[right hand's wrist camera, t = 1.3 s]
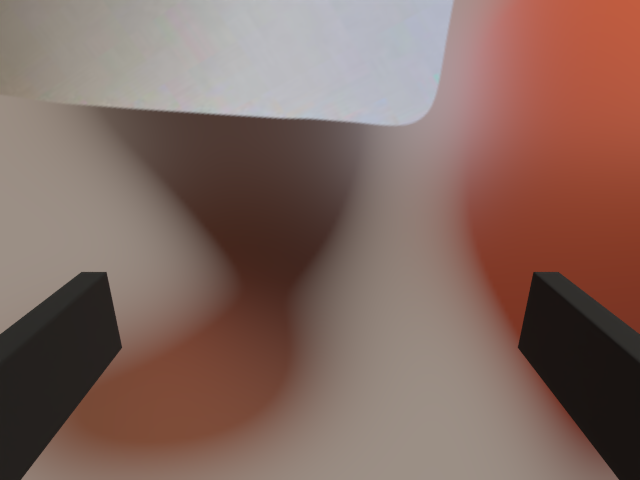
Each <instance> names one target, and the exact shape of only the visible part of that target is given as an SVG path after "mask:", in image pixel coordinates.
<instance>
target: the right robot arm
mask: <svg viewBox="0 0 640 480" xmlns="http://www.w3.org/2000/svg"><path fill="white" fill-rule="evenodd" d="M121 348H122V345H121V340H120V335H119V331H118V326H117V321H116V316H115V311H114V306H113V301H112V297H111V292H110V287H109V282H108V277H107V273H106V272H81V273H80V274H78V275H77V276H76V277H74V278H73V279H72V280H71V281H69V282H68V283H67V284H65V285H64V286H63V287H61V288H60V289H59V290H58V291H56V292H55V293H54V294H52V295H51V296H50V297H48V298H47V299H46V300H45V301H43V302H42V303H41V304H39V305H38V306H37V307H35V308H34V309H33V310H31V311H30V312H29V313H28V314H26V315H25V316H24V317H22V318H21V319H20V320H18V321H17V322H16V323H15V324H13V325H12V326H11V327H9V328H8V329H7V330H5V331H4V332H3V333H1V334H0V480H21V479H22V477H23V476H24V475H25V474H26V472H27V471H28V470H29V468H30V467H31V466H32V464H33V463H34V462H35V461H36V459H37V458H38V457H39V455H40V454H41V453H42V451H43V450H44V449H45V447H46V446H47V445H48V444H49V442H50V441H51V440H52V438H53V437H54V436H55V434H56V433H57V432H58V431H59V429H60V428H61V427H62V425H63V424H64V423H65V421H66V420H67V419H68V417H69V416H70V415H71V413H72V412H73V411H74V410H75V408H76V407H77V406H78V404H79V403H80V402H81V400H82V399H83V398H84V397H85V395H86V394H87V393H88V391H89V390H90V389H91V387H92V386H93V385H94V384H95V382H96V381H97V380H98V378H99V377H100V376H101V374H102V373H103V372H104V370H105V369H106V368H107V366H108V365H109V364H110V363H111V361H112V360H113V359H114V357H115V356H116V355H117V354H118V352H119V351H120V350H121ZM518 348H519V350H520V351H521V352H522V354H523V355H524V356H525V357H526V359H527V360H528V361H529V363H530V364H531V365H532V367H533V368H534V369H535V370H536V372H537V373H538V374H539V376H540V377H541V378H542V380H543V381H544V382H545V383H546V385H547V386H548V387H549V389H550V390H551V391H552V393H553V394H554V395H555V397H556V398H557V399H558V400H559V402H560V403H561V404H562V406H563V407H564V408H565V410H566V411H567V412H568V414H569V415H570V416H571V417H572V419H573V420H574V421H575V423H576V424H577V425H578V427H579V428H580V429H581V431H582V432H583V433H584V434H585V436H586V437H587V438H588V440H589V441H590V442H591V444H592V445H593V446H594V447H595V449H596V450H597V451H598V453H599V454H600V455H601V457H602V458H603V459H604V460H605V462H606V463H607V464H608V466H609V467H610V468H611V470H612V471H613V472H614V474H615V475H616V476H617V477H618V479H619V480H640V334H639V333H637V332H636V331H635V330H633V329H632V328H631V327H629V326H628V325H627V324H625V323H624V322H623V321H622V320H620V319H619V318H618V317H616V316H615V315H614V314H612V313H611V312H610V311H609V310H607V309H606V308H605V307H603V306H602V305H601V304H599V303H598V302H597V301H596V300H594V299H593V298H592V297H590V296H589V295H588V294H586V293H585V292H584V291H582V290H581V289H580V288H579V287H577V286H576V285H575V284H573V283H572V282H571V281H569V280H568V279H567V278H566V277H564V276H563V275H562V274H560V273H559V272H534V273H533V277H532V282H531V287H530V292H529V297H528V301H527V306H526V311H525V316H524V321H523V326H522V331H521V336H520V340H519V345H518Z"/></svg>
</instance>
